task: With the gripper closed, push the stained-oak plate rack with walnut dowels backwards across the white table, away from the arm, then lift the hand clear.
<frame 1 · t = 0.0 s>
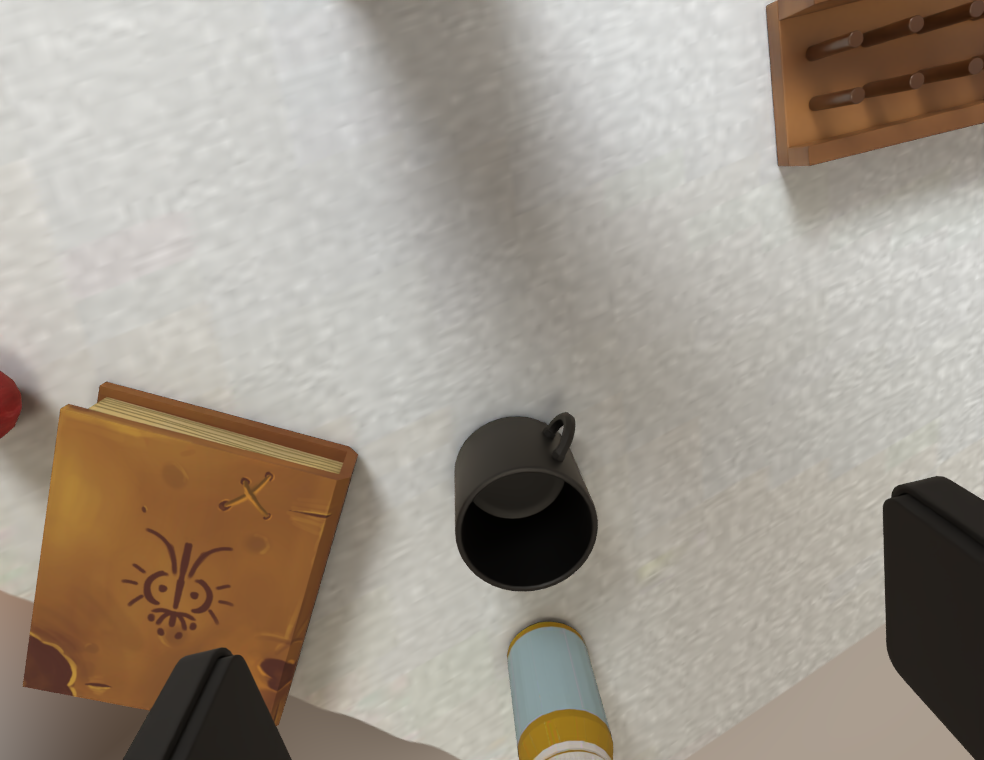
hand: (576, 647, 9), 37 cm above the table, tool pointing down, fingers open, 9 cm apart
mug: (521, 455, 49), on the table
rack: (904, 56, 41), on the table
bottle: (545, 647, 55), on the table
onion: (5, 386, 44), on the table
diary: (209, 542, 49), on the table
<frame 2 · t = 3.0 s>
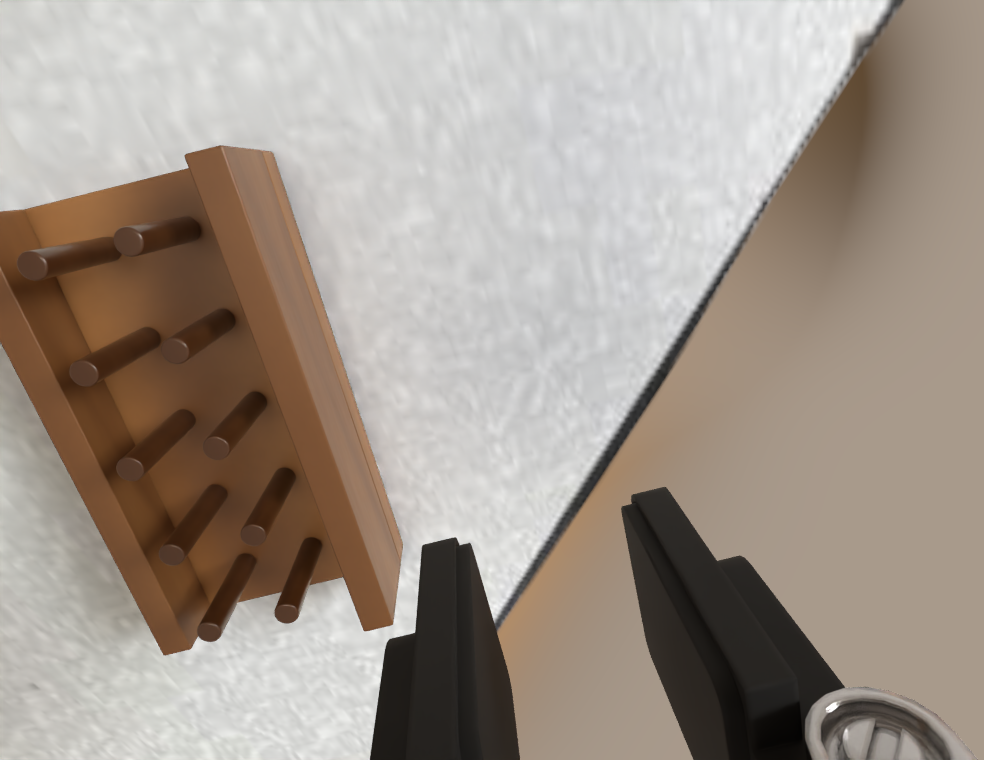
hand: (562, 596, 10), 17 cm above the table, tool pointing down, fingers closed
rack: (232, 397, 26), on the table
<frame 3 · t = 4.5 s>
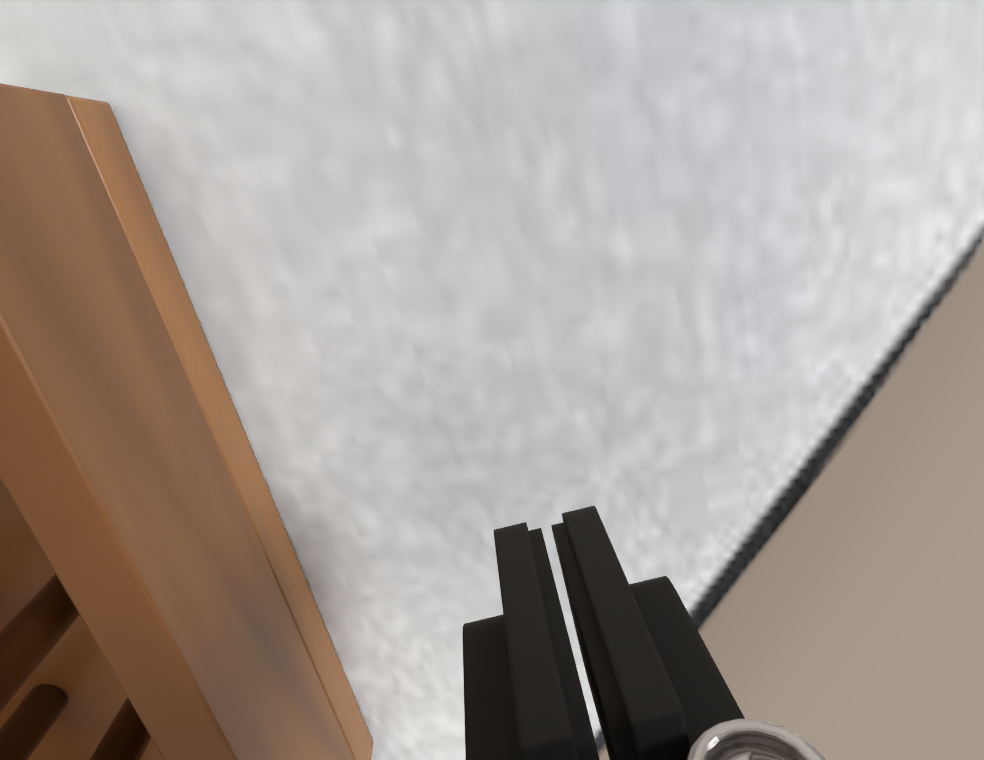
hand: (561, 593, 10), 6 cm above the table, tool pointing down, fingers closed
rack: (76, 532, 15), on the table
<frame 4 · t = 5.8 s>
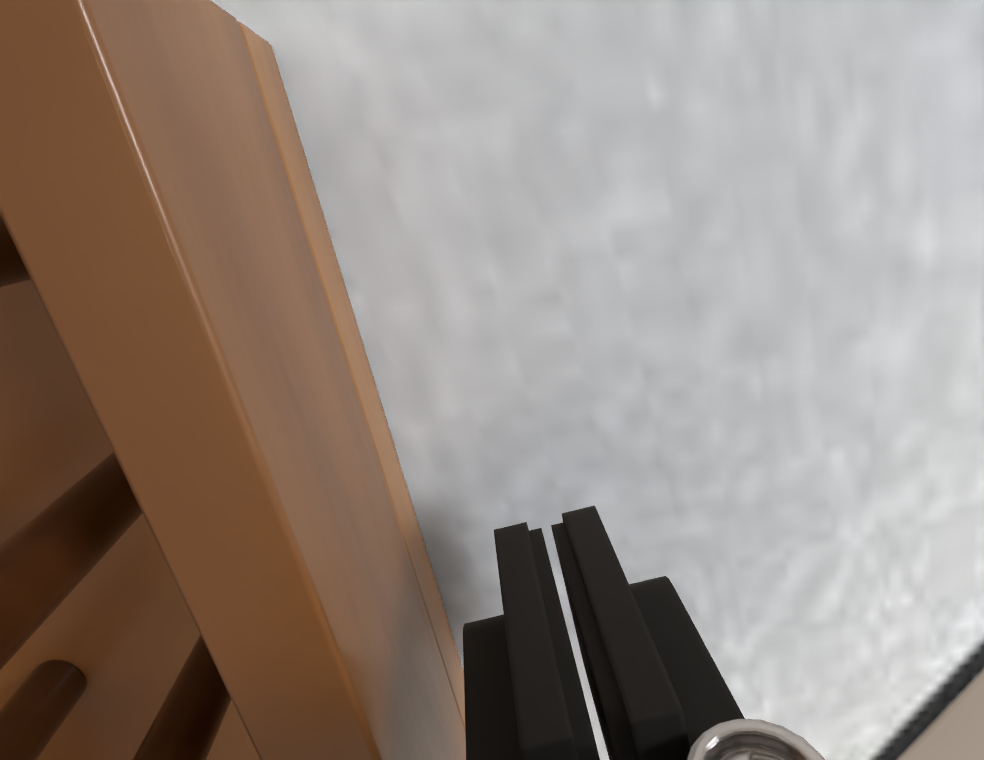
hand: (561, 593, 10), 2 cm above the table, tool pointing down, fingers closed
rack: (179, 603, 12), on the table, touching gripper
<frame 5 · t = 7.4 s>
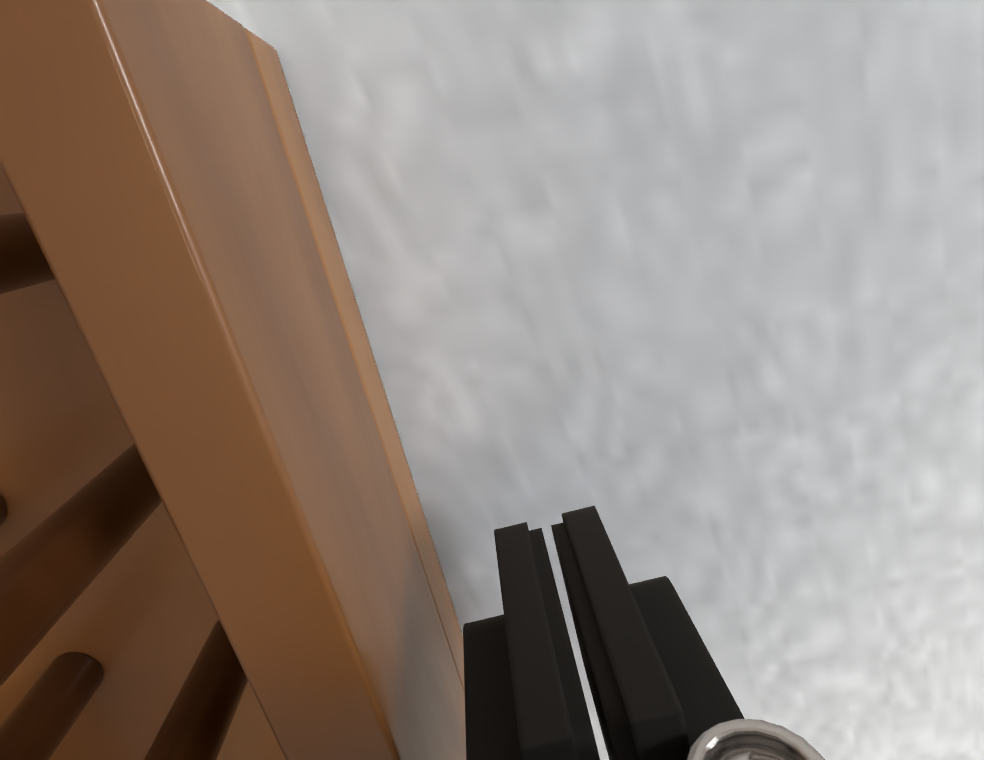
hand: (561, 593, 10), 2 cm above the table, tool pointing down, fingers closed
rack: (192, 596, 12), on the table, touching gripper
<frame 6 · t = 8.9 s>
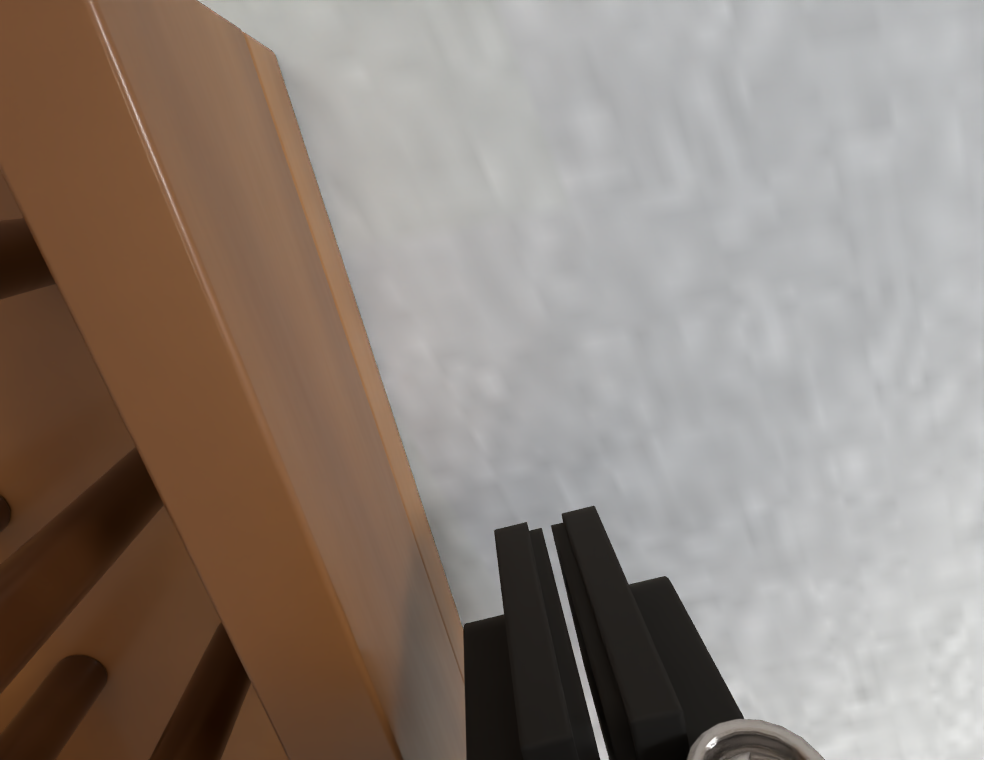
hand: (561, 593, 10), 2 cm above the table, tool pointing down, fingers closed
rack: (195, 598, 12), on the table, touching gripper
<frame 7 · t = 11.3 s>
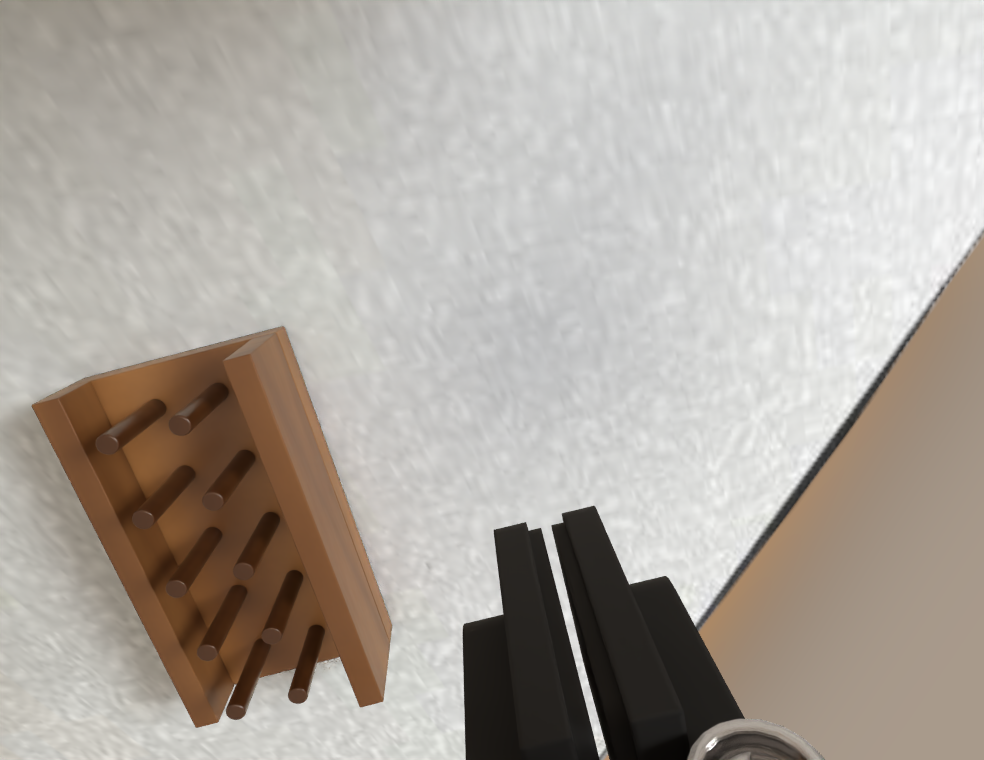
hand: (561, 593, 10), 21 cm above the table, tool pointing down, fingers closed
rack: (251, 512, 32), on the table
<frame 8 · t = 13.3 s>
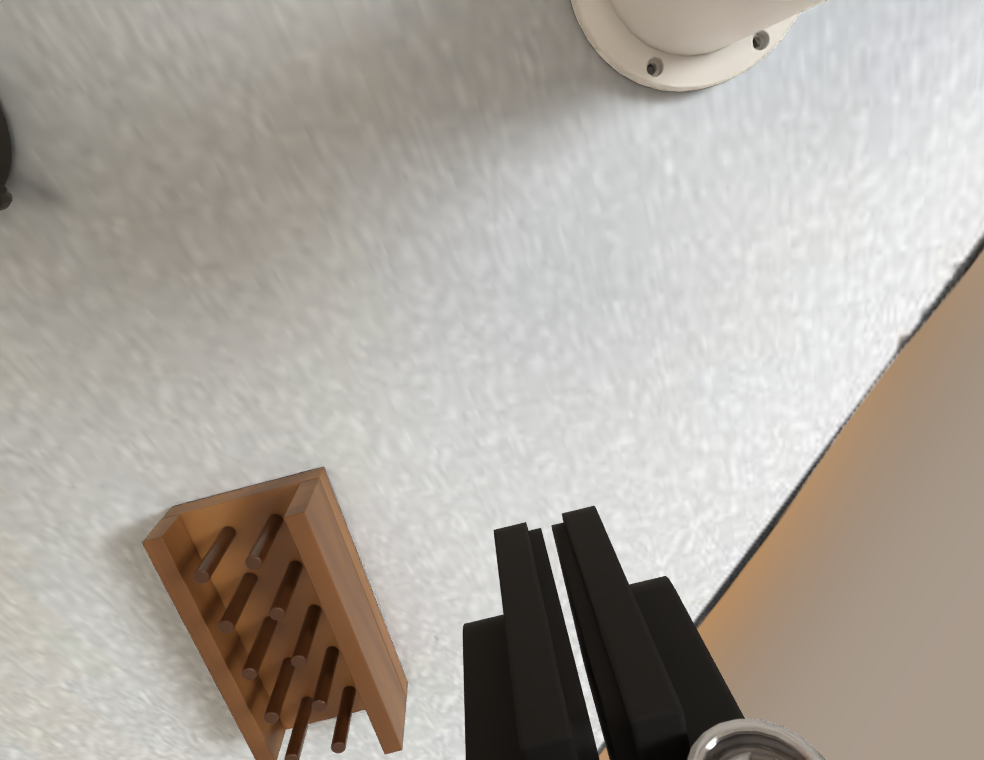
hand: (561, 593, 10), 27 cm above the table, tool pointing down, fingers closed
rack: (297, 600, 42), on the table
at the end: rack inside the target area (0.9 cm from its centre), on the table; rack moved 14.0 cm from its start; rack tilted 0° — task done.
